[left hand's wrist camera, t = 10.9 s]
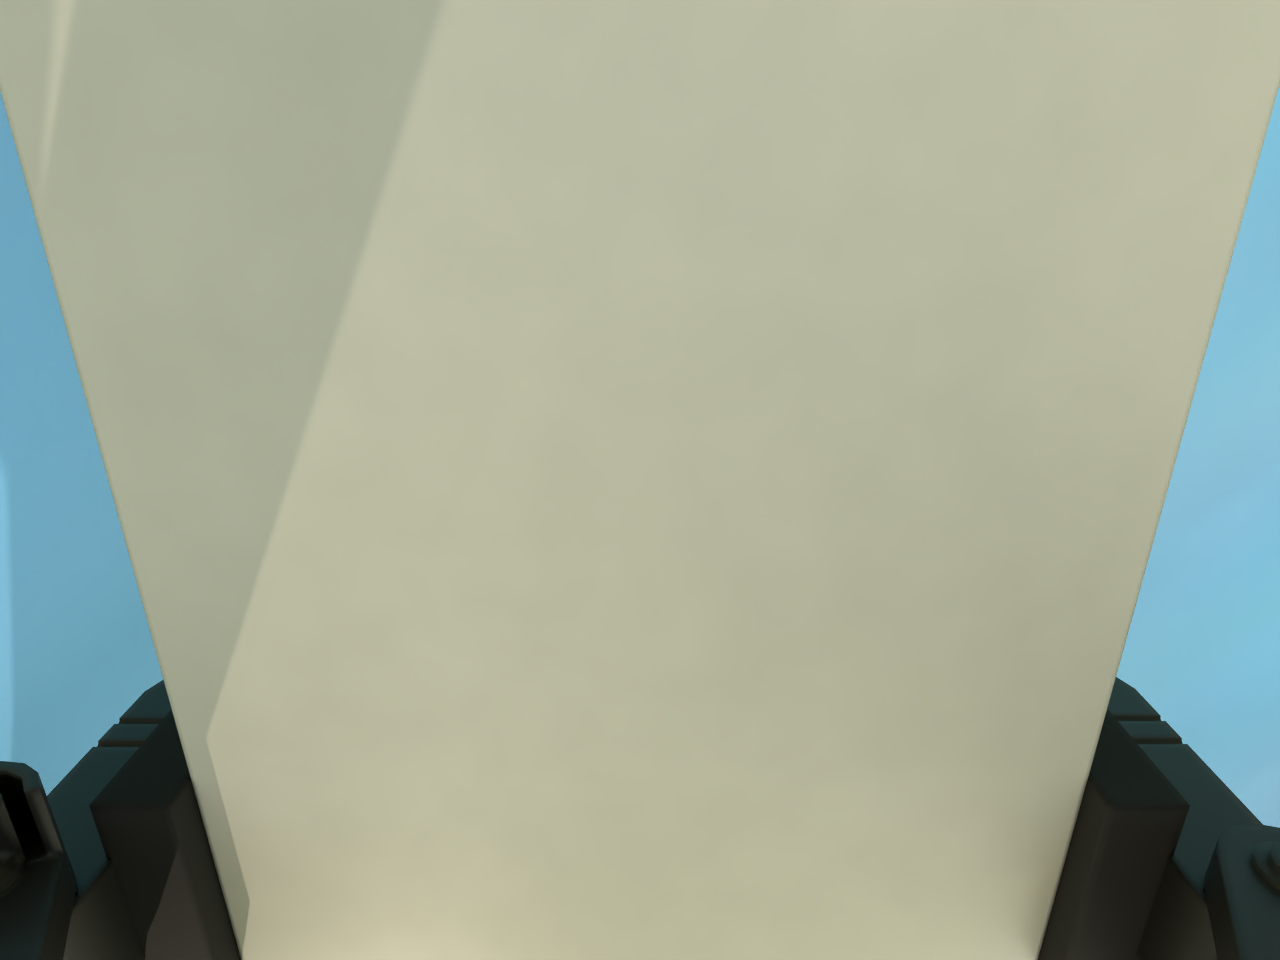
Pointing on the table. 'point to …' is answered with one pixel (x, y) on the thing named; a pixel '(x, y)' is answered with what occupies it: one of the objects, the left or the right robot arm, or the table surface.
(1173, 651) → the table surface
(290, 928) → the beige rectangular bar
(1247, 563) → the table surface
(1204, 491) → the table surface
